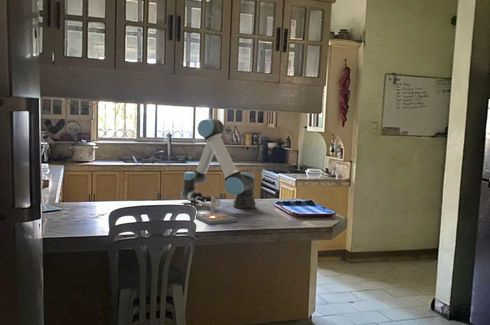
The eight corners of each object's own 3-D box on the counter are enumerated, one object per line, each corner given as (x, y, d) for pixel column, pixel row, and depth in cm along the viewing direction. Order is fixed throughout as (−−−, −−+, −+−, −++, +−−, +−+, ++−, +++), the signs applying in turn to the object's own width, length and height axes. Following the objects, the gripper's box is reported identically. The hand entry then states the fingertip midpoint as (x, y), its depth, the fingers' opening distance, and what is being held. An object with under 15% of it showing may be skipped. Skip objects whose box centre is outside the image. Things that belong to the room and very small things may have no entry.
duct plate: (220, 215, 282) (220, 212, 282) (236, 221, 267) (236, 218, 267) (194, 217, 272) (194, 214, 272) (209, 224, 257) (209, 221, 257)
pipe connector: (217, 214, 283) (218, 199, 282) (202, 213, 285) (202, 197, 284) (221, 211, 293) (222, 196, 292) (206, 210, 294) (207, 195, 293)
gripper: (211, 201, 313) (227, 207, 296) (178, 204, 299) (193, 210, 282) (211, 190, 313) (228, 196, 295) (178, 192, 299) (193, 198, 281)
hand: (211, 203), depth 288 cm, fingers open, 13 cm apart
